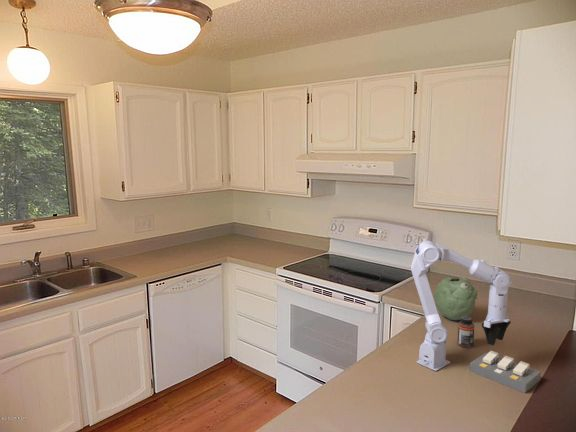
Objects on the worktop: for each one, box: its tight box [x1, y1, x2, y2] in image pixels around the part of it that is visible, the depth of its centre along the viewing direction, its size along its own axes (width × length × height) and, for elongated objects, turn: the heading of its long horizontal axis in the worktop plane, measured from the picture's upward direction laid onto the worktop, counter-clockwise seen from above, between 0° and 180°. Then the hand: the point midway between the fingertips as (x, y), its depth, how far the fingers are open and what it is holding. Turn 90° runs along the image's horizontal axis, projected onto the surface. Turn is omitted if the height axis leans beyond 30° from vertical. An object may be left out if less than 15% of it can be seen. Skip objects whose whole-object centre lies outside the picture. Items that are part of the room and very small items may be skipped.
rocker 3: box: [513, 360, 530, 376], centre depth 137 cm, size 6×3×1 cm, turn 129°
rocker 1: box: [483, 350, 500, 364], centre depth 145 cm, size 6×3×1 cm, turn 129°
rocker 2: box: [497, 355, 515, 370], centre depth 141 cm, size 6×3×1 cm, turn 129°
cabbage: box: [433, 276, 478, 321], centre depth 189 cm, size 16×19×20 cm
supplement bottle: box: [457, 315, 475, 349], centre depth 163 cm, size 6×6×11 cm
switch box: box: [469, 351, 542, 394], centre depth 141 cm, size 12×18×5 cm, turn 39°
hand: (494, 341), depth 146 cm, fingers open, 6 cm apart
